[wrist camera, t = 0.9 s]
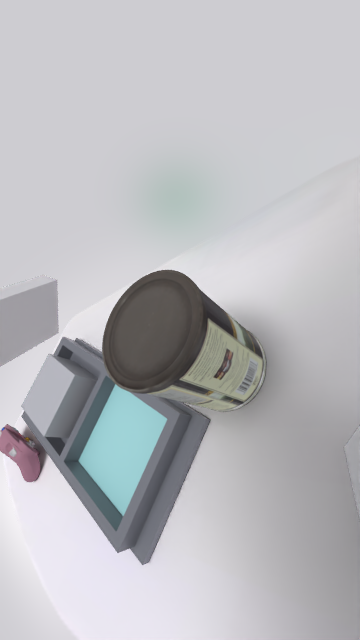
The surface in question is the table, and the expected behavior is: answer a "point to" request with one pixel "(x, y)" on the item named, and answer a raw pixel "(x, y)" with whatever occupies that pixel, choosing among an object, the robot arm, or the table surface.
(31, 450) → the video game controller
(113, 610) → the table surface
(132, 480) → the grey compartment tray
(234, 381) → the coffee can
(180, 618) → the table surface
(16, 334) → the robot arm
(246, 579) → the table surface
